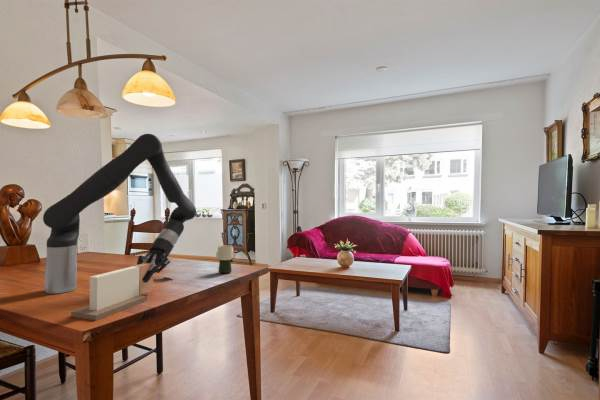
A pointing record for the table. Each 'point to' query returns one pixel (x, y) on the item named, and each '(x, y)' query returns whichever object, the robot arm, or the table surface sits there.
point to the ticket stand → (111, 294)
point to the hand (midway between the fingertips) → (140, 280)
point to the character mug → (225, 258)
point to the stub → (143, 285)
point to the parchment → (161, 280)
